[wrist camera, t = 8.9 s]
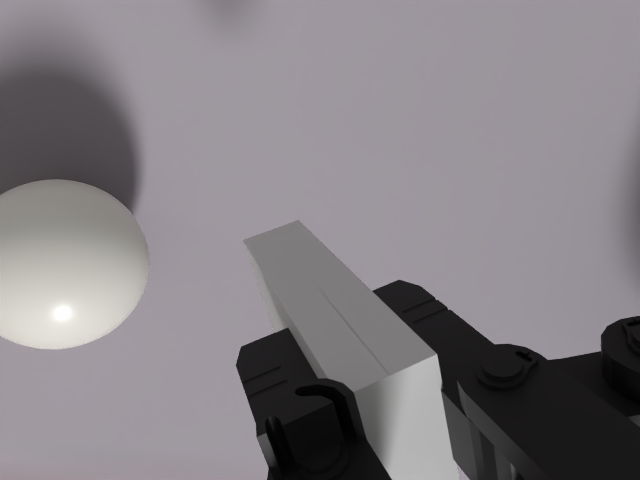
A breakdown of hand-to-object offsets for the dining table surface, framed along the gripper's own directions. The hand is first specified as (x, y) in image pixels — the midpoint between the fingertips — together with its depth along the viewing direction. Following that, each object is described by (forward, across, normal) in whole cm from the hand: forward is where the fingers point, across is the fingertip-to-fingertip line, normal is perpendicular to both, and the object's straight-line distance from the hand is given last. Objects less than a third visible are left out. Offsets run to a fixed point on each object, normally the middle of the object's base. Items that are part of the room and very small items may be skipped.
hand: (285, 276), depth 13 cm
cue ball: (+6, +6, 0) cm, 8 cm away
